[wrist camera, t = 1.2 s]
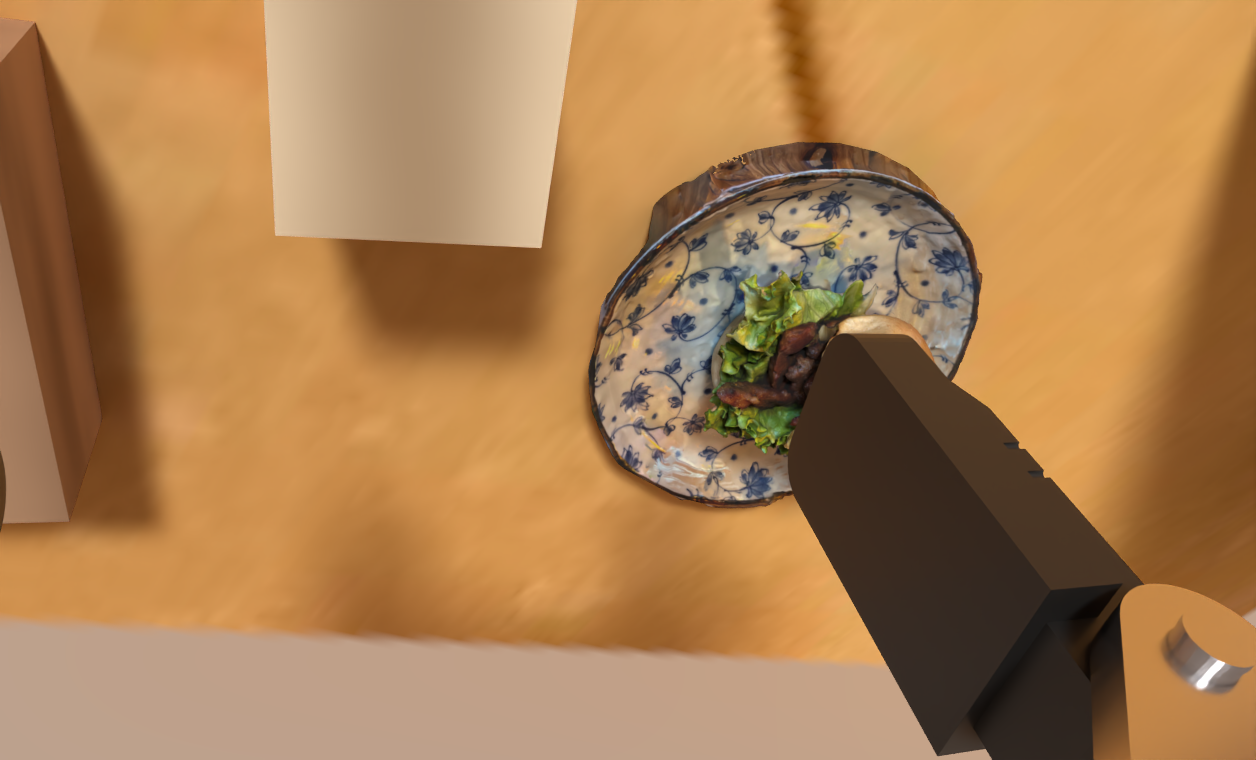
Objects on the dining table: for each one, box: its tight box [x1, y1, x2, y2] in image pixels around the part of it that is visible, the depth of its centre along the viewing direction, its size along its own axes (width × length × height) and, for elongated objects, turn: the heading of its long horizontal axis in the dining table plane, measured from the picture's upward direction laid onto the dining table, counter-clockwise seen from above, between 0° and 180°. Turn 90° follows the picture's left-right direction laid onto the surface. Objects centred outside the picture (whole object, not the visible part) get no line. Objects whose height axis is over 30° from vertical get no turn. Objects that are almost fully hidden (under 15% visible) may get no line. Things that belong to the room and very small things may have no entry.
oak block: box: [264, 0, 577, 248], centre depth 17 cm, size 4×4×6 cm
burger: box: [589, 142, 982, 508], centre depth 24 cm, size 12×12×8 cm
